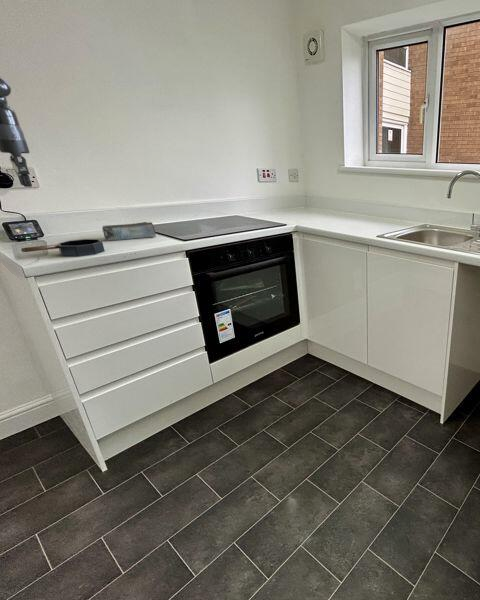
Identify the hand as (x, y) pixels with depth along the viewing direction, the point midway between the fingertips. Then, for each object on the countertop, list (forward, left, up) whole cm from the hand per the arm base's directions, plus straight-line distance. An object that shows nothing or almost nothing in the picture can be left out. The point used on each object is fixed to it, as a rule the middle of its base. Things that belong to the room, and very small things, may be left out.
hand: (26, 186), depth 131 cm
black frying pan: (+3, -16, -24) cm, 29 cm away
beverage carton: (+29, +4, -24) cm, 38 cm away
